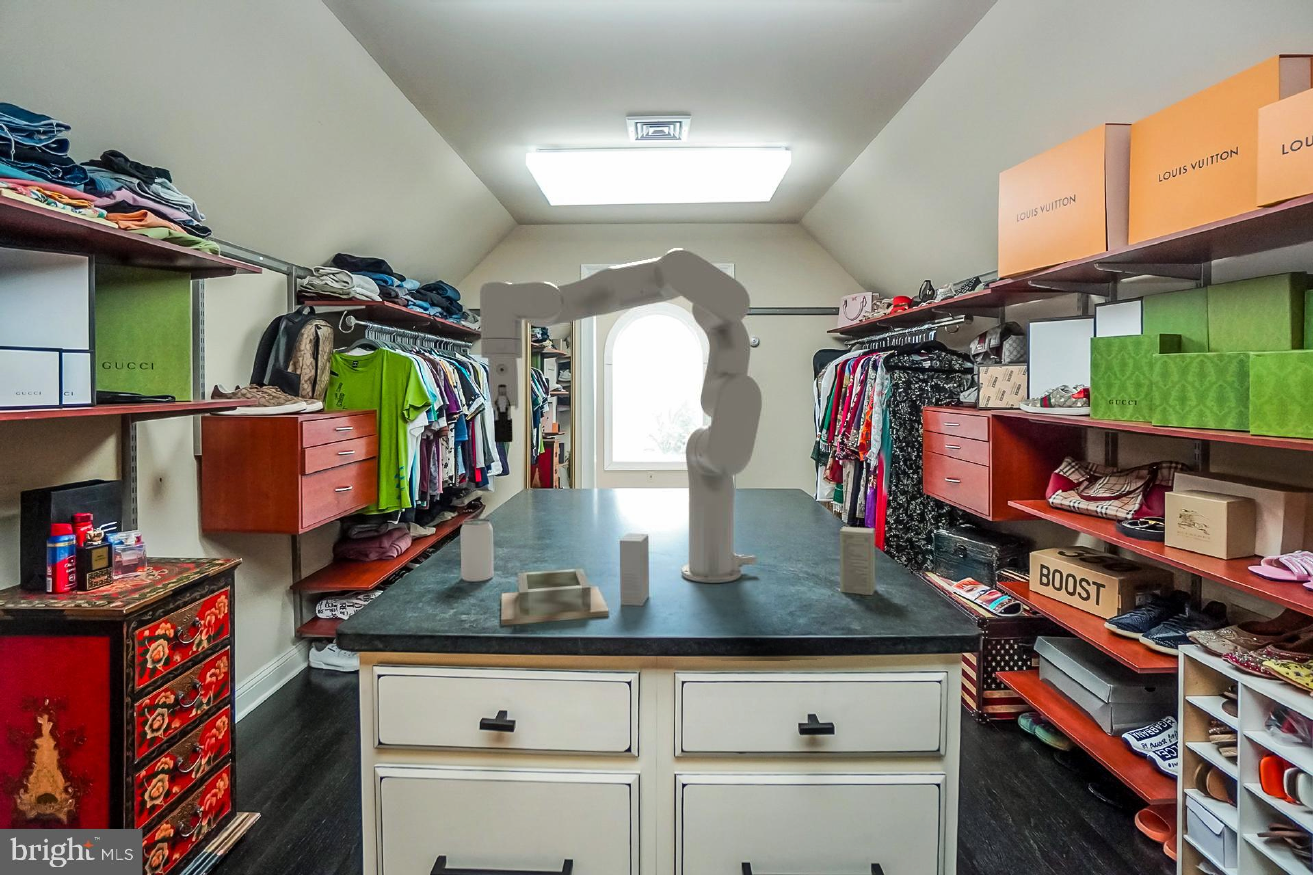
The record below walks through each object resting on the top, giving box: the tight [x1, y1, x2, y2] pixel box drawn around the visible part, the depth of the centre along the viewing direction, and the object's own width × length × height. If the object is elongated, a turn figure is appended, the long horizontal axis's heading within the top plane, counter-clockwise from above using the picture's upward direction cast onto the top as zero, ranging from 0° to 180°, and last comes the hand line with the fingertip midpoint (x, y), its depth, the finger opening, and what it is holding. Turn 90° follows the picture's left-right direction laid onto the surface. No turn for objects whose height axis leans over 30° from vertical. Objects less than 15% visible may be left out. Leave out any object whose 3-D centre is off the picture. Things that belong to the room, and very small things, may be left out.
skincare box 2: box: [839, 526, 876, 596], centre depth 120 cm, size 6×4×12 cm
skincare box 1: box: [619, 532, 650, 607], centre depth 114 cm, size 6×4×12 cm
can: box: [460, 518, 495, 583], centre depth 129 cm, size 6×6×12 cm
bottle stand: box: [500, 568, 610, 626], centre depth 111 cm, size 18×14×5 cm
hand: (503, 440), depth 118 cm, fingers open, 9 cm apart
